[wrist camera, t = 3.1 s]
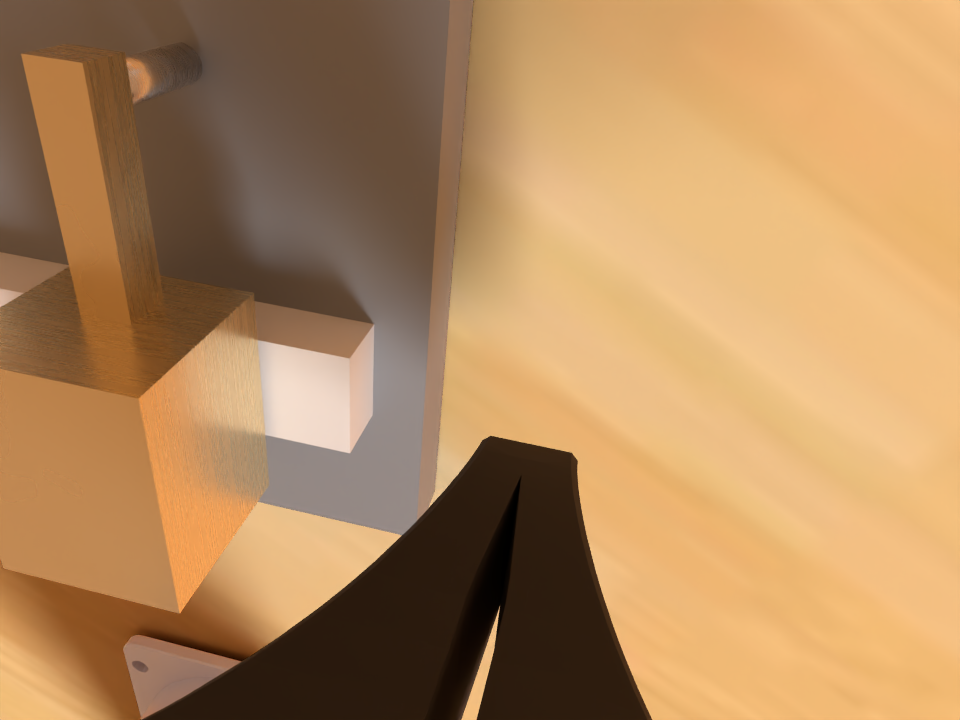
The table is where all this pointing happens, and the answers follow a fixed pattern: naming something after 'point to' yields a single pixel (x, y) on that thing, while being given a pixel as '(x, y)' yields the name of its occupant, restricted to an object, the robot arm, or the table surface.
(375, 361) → the plate
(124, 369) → the sliding trammel head
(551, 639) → the robot arm
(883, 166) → the table surface
